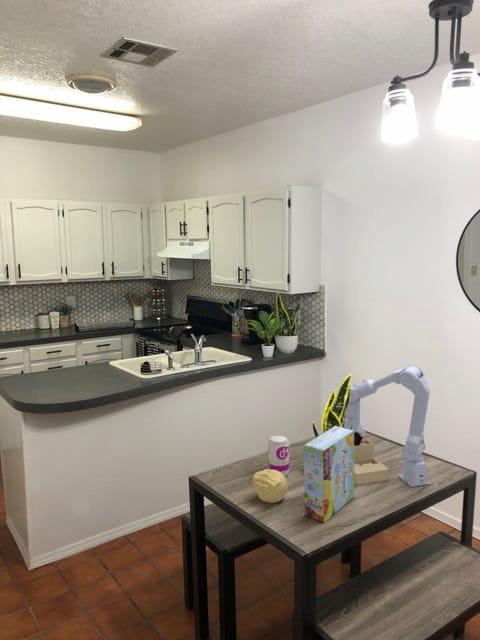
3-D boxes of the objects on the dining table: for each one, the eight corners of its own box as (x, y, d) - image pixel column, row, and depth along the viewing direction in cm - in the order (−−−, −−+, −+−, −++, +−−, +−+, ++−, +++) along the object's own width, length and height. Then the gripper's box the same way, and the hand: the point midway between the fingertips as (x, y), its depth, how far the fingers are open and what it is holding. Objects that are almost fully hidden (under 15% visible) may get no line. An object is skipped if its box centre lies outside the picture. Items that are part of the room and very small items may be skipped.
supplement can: (292, 476, 201) (292, 440, 198) (273, 480, 198) (273, 444, 195) (283, 468, 208) (283, 433, 206) (265, 471, 205) (264, 436, 203)
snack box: (333, 490, 189) (334, 424, 185) (355, 498, 184) (356, 430, 180) (302, 515, 173) (302, 443, 169) (324, 524, 167) (325, 450, 163)
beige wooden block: (374, 443, 206) (368, 438, 210) (343, 447, 202) (337, 442, 207) (373, 457, 207) (367, 451, 212) (342, 461, 204) (337, 456, 208)
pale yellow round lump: (248, 499, 184) (247, 471, 182) (268, 487, 192) (268, 460, 191) (273, 510, 176) (272, 481, 174) (293, 497, 185) (293, 469, 183)
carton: (388, 480, 197) (389, 469, 196) (356, 485, 193) (356, 474, 192) (373, 467, 208) (373, 456, 207) (341, 471, 204) (342, 461, 204)
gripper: (372, 419, 203) (371, 451, 205) (349, 409, 216) (349, 439, 218) (357, 422, 200) (357, 455, 202) (336, 411, 213) (336, 442, 215)
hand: (352, 447), depth 210 cm, fingers open, 4 cm apart
